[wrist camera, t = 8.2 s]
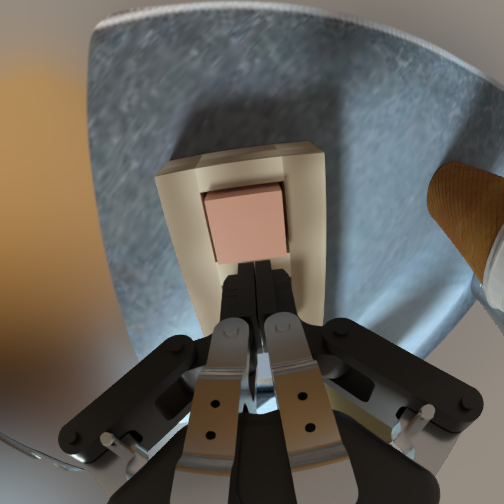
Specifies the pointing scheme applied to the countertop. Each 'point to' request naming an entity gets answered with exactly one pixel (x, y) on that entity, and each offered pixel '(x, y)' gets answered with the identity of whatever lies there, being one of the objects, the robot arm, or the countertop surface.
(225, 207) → the terracotta key
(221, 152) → the key box
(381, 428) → the squeeze bottle
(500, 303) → the disposable coffee cup
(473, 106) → the countertop surface
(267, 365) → the slate key
